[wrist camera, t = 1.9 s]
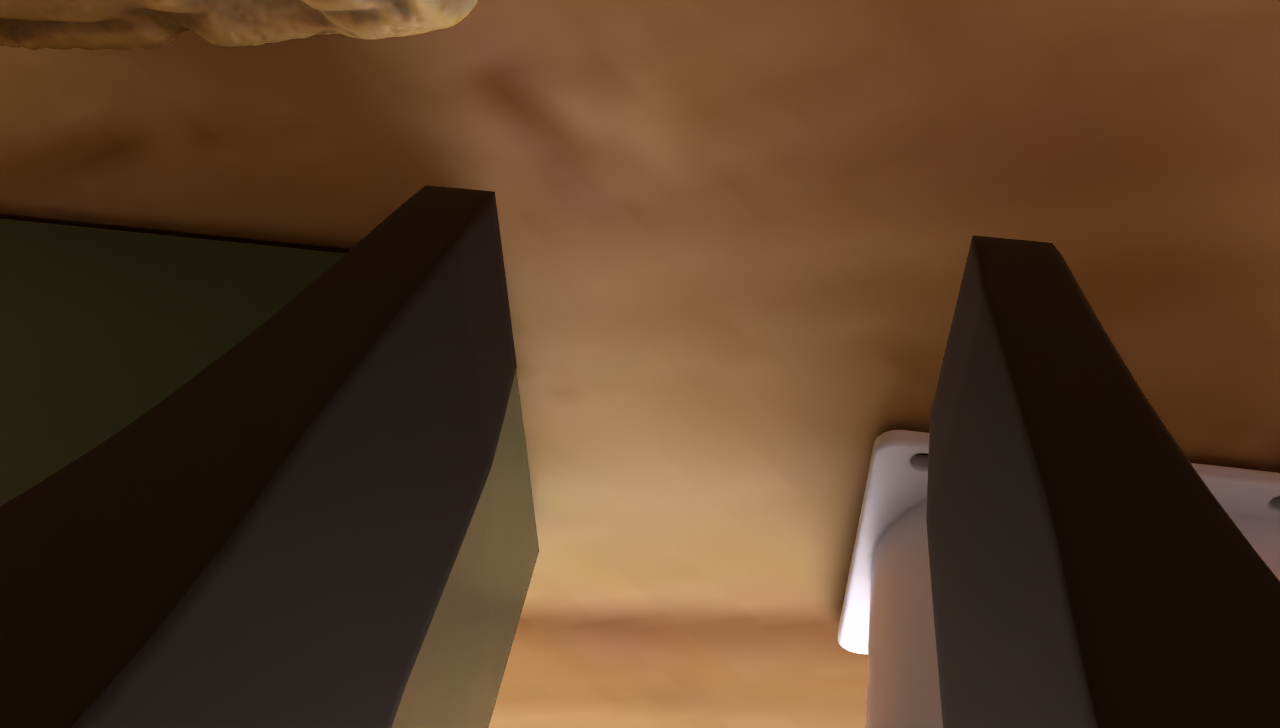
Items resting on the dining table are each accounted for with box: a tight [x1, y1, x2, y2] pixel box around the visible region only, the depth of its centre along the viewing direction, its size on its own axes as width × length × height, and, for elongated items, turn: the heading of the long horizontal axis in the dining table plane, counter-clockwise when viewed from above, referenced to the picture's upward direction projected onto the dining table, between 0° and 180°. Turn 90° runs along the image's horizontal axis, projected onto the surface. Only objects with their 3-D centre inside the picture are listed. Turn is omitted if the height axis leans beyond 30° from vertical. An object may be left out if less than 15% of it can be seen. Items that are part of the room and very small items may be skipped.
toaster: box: [0, 214, 539, 728], centre depth 23 cm, size 16×9×11 cm, turn 91°
